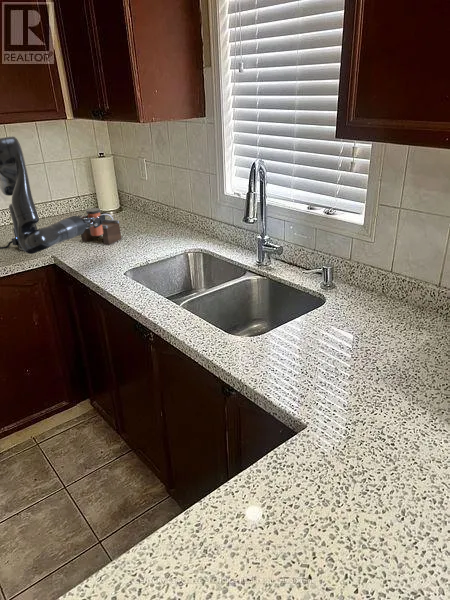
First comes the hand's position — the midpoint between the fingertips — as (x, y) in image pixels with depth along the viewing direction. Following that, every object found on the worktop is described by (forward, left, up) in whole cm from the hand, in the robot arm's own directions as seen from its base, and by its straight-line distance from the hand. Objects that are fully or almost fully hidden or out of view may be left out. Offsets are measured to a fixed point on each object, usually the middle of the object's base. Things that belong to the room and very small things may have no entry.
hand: (98, 216), depth 181 cm
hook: (-31, +29, -17) cm, 46 cm away
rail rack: (-16, +17, -17) cm, 29 cm away
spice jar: (0, -3, -7) cm, 7 cm away
